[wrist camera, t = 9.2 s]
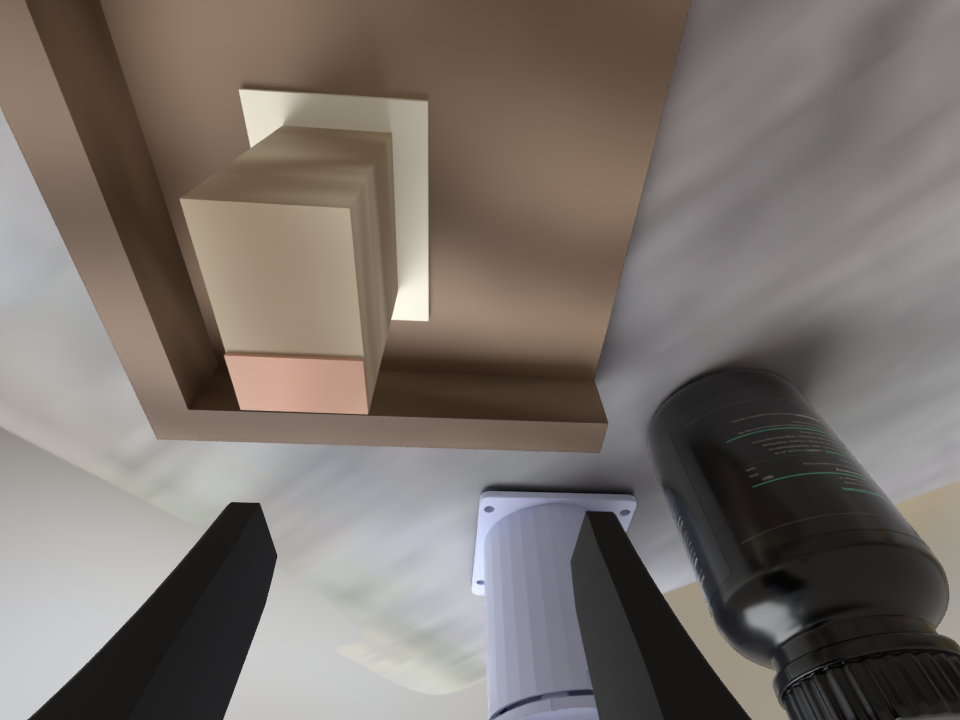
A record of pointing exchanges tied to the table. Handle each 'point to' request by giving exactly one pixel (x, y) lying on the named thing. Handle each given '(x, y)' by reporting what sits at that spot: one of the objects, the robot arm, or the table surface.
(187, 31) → the corner board
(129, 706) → the robot arm
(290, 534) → the table surface
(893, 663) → the supplement bottle
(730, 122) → the table surface
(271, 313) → the maple block
